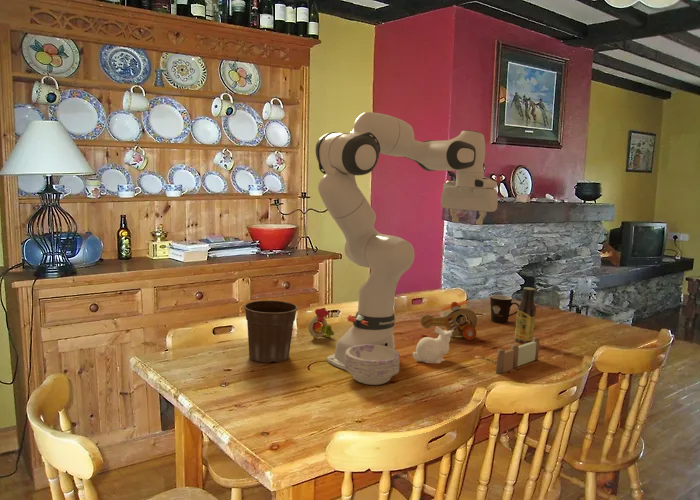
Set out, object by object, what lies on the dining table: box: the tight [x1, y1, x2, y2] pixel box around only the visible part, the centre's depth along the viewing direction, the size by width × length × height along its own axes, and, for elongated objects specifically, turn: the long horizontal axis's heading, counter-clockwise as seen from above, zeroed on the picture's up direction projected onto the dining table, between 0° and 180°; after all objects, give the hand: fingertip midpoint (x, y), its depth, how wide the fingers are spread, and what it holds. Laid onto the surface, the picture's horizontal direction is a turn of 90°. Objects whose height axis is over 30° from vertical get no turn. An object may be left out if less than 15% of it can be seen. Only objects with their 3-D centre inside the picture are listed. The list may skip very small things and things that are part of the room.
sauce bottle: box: [514, 286, 537, 345], centre depth 199 cm, size 7×6×20 cm
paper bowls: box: [344, 344, 401, 386], centre depth 158 cm, size 15×15×8 cm
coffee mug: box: [489, 294, 520, 324], centre depth 228 cm, size 12×9×10 cm
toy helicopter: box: [419, 300, 478, 341], centre depth 203 cm, size 8×21×14 cm, turn 98°
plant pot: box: [243, 299, 299, 364], centre depth 173 cm, size 16×16×16 cm
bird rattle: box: [307, 307, 335, 340], centre depth 196 cm, size 6×11×9 cm
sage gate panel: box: [517, 336, 541, 367], centre depth 176 cm, size 12×2×7 cm, turn 133°
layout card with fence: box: [474, 344, 520, 375], centre depth 177 cm, size 23×18×7 cm
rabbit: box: [412, 326, 454, 364], centre depth 174 cm, size 12×9×12 cm
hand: (466, 223), depth 187 cm, fingers open, 8 cm apart
